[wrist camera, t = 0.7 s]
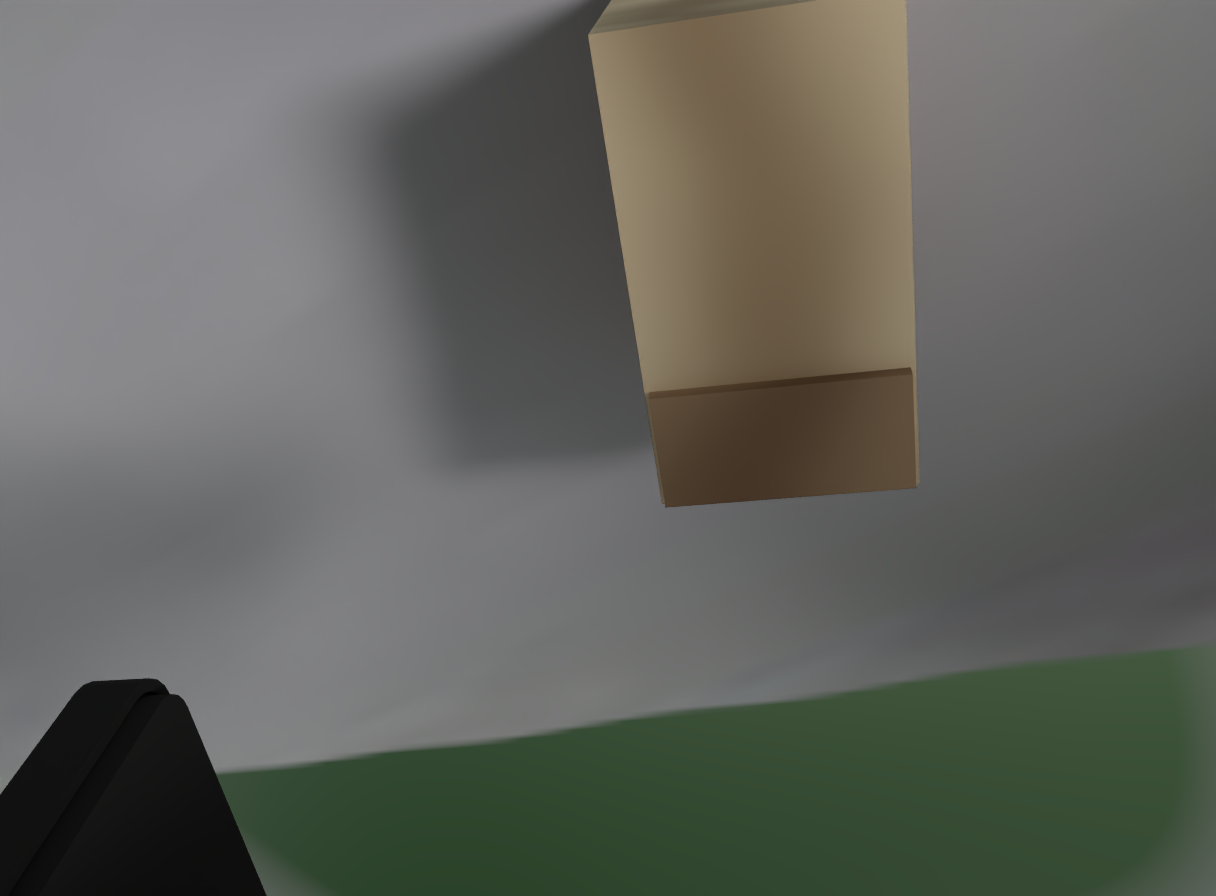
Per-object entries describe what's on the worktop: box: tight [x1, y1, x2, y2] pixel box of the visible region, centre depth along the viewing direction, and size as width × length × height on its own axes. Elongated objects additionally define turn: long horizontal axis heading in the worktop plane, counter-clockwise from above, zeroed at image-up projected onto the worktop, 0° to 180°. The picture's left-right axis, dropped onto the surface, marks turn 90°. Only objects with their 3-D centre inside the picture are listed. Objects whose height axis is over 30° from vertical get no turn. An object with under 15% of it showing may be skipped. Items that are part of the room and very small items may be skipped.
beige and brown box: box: [588, 0, 920, 507], centre depth 23 cm, size 5×9×7 cm, turn 9°
